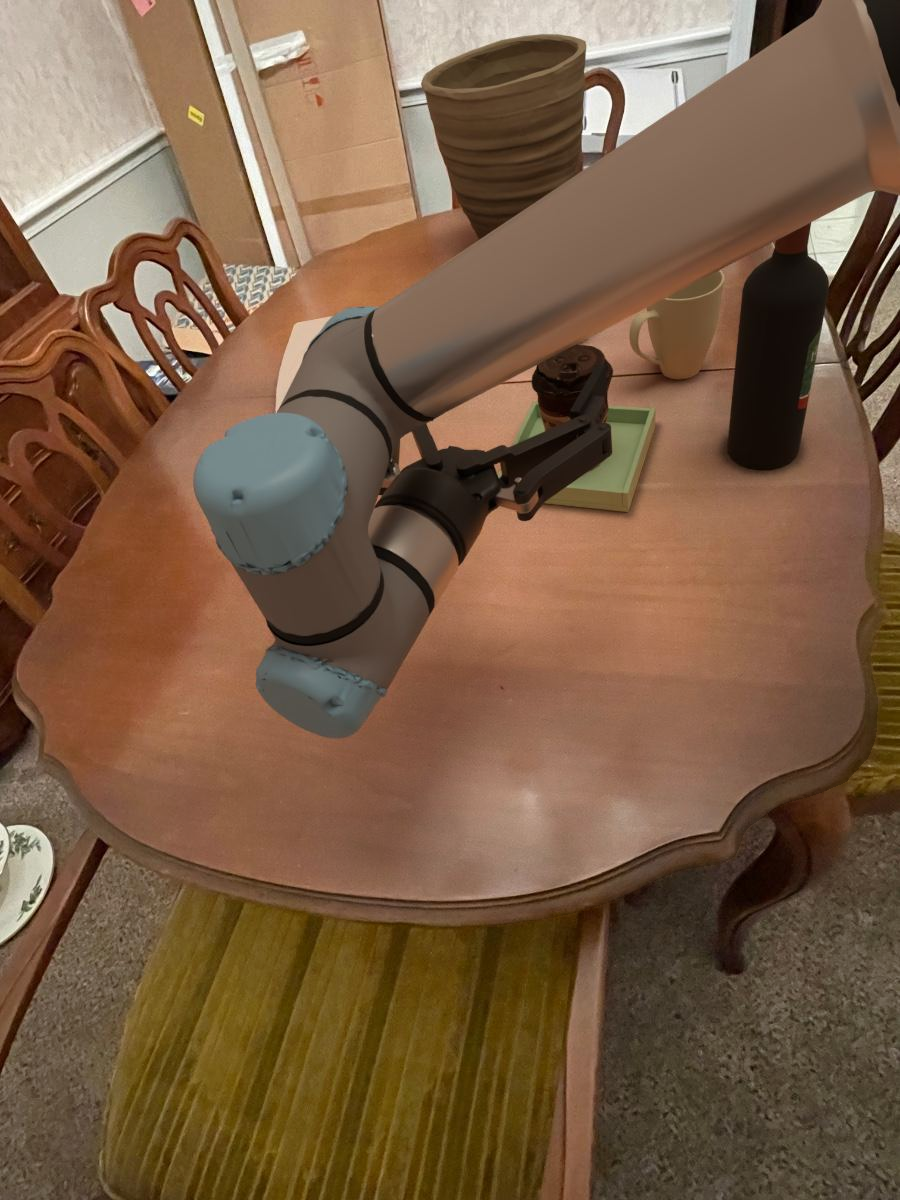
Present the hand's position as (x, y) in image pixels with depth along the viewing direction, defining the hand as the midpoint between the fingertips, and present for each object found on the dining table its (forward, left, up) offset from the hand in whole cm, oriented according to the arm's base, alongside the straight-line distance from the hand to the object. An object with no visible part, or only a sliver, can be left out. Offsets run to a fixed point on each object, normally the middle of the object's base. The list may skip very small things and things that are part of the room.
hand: (527, 371), depth 65 cm
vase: (+25, -69, -22) cm, 77 cm away
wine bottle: (-19, -19, -22) cm, 35 cm away
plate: (+37, -32, -22) cm, 54 cm away
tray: (+1, -14, -22) cm, 26 cm away
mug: (-7, -33, -22) cm, 41 cm away
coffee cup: (+1, -14, -21) cm, 26 cm away
